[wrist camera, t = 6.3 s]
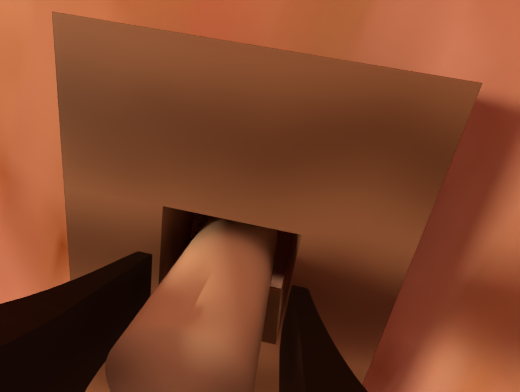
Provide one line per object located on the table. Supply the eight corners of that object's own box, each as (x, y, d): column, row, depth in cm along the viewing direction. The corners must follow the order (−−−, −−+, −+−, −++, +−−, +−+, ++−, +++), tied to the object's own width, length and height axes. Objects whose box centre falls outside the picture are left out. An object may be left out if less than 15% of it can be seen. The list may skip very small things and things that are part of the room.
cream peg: (270, 273, 17) (240, 455, 8) (202, 258, 17) (106, 420, 9) (283, 209, 15) (264, 349, 7) (209, 194, 16) (103, 311, 7)
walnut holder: (327, 383, 19) (334, 454, 15) (120, 333, 20) (78, 389, 16) (428, 86, 13) (482, 82, 9) (120, 34, 14) (51, 11, 10)
